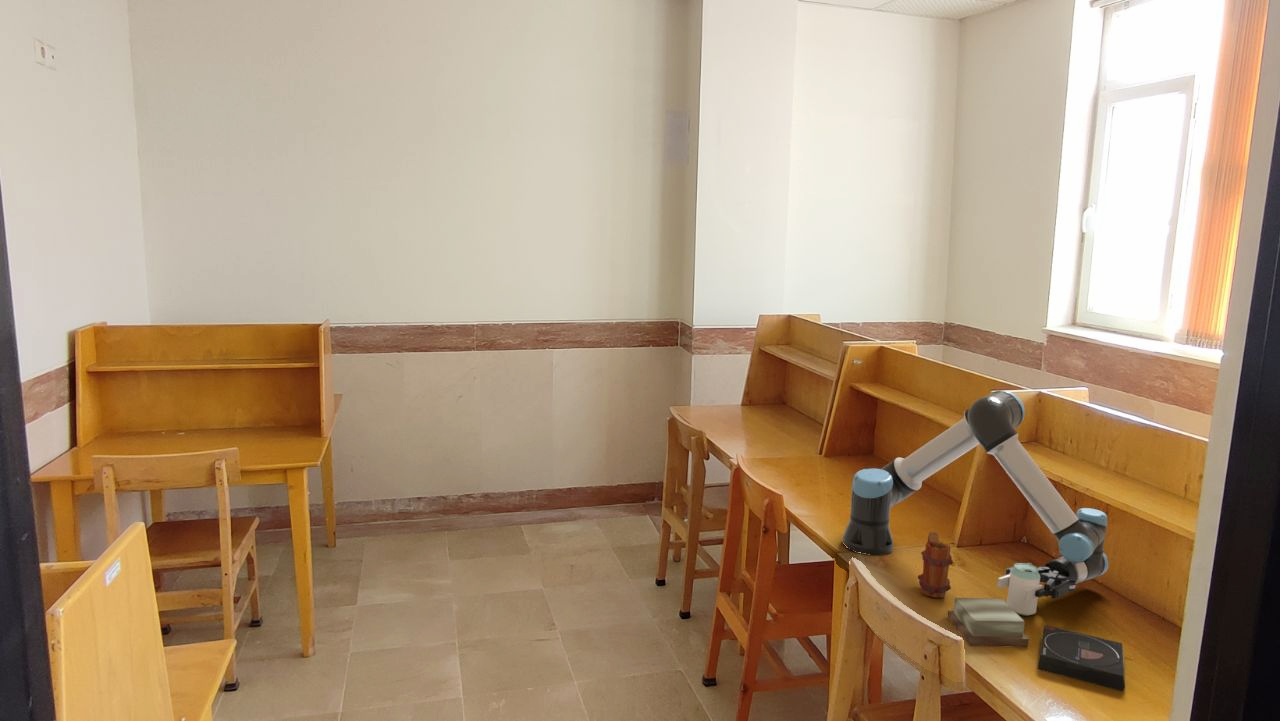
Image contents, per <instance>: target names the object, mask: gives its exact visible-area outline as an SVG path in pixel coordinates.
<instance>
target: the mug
mask: <svg viewBox="0 0 1280 721" xmlns="http://www.w3.org/2000/svg"><path fill="white" fill-rule="evenodd" d="M939 537H940V536H939V533H938V532H935V531H930V532H928V536H927V542H926V544H925V550H923V551H921V552H920V553H921V555H922V560H923V564H922V565H923V569H922V573H921V574H919V575H917V579H918V580H919V582H918V584H919V587H920V589H921V590H920V591H921V593H922V594H923V595H925V596H927V597H931V598H943V597H945V596H946V593H947V592H948V591H950V590H951V589H952V586H951V585H950V584H951V582H950V579H949V578H948V576H949V568H950V565H953V563H954V561H953V560H952V555H951V546H950V545H949V544H948V543H944V542H943V541H940V540H939Z"/></svg>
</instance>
